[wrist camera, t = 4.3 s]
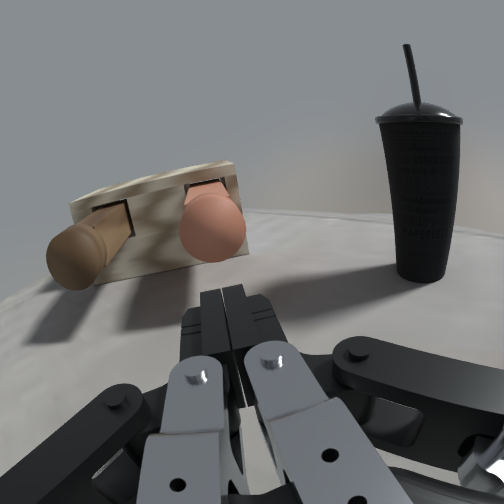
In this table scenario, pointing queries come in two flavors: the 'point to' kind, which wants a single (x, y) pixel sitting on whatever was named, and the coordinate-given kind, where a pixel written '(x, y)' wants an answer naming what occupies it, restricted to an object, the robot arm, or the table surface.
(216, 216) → the terracotta plug
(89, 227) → the walnut plug
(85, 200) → the socket block
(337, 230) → the table surface
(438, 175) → the drinking cup
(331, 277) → the table surface
